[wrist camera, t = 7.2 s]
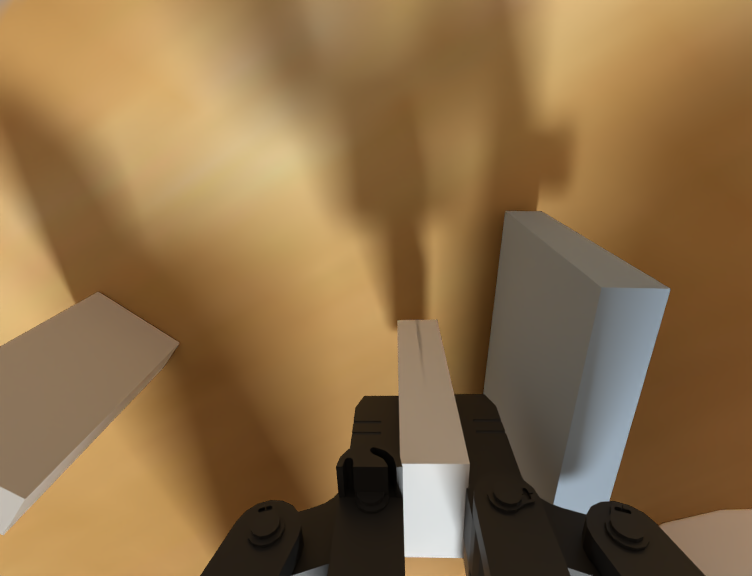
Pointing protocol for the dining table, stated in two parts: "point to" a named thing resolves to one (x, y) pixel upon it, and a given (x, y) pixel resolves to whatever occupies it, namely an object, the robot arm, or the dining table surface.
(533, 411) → the door
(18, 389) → the wall stub
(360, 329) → the dining table surface
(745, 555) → the canister
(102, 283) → the dining table surface
